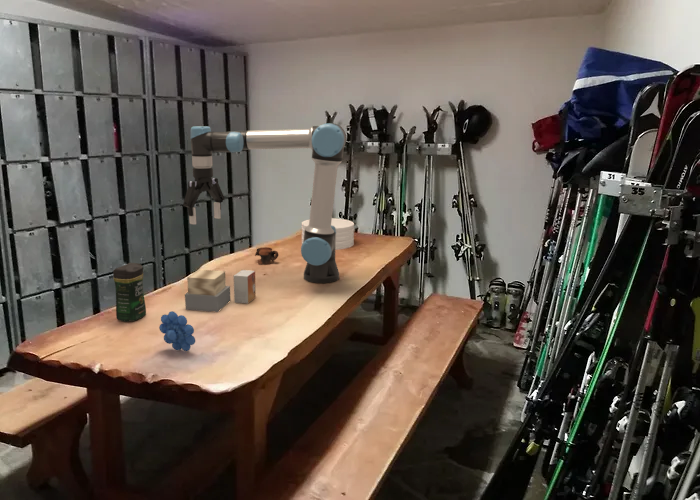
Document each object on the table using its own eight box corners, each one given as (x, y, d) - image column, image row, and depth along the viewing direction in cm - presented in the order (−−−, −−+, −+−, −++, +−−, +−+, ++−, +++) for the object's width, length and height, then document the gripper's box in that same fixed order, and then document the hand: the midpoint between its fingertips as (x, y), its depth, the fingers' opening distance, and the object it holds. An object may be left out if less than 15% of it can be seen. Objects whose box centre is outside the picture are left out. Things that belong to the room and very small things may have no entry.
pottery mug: (251, 265, 249) (250, 248, 251) (261, 269, 257) (260, 252, 259) (275, 261, 245) (274, 244, 247) (284, 265, 254) (283, 248, 256)
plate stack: (304, 237, 305) (304, 217, 302) (354, 238, 304) (354, 218, 301) (298, 249, 278) (298, 227, 275) (352, 250, 277) (353, 229, 274)
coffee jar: (133, 323, 177) (129, 269, 173) (112, 321, 179) (107, 267, 174) (150, 313, 186) (146, 261, 182) (130, 311, 188) (125, 260, 183)
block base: (230, 301, 201) (230, 286, 199) (217, 312, 189) (217, 296, 188) (200, 299, 202) (199, 284, 201) (185, 310, 191) (184, 294, 189)
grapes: (152, 353, 156) (149, 314, 153) (166, 344, 162) (163, 306, 159) (186, 359, 153) (184, 319, 150) (200, 350, 159) (198, 311, 156)
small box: (248, 304, 197) (247, 276, 195) (233, 302, 198) (233, 275, 196) (256, 297, 205) (255, 270, 202) (242, 295, 206) (241, 269, 204)
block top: (225, 286, 198) (225, 271, 197) (215, 295, 189) (214, 279, 187) (200, 285, 200) (199, 269, 198) (188, 293, 190) (187, 277, 189)
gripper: (217, 164, 221) (220, 215, 226) (170, 169, 200) (174, 225, 205) (231, 165, 217) (234, 217, 222) (185, 170, 196) (189, 227, 201)
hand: (205, 221), depth 214 cm, fingers open, 13 cm apart
